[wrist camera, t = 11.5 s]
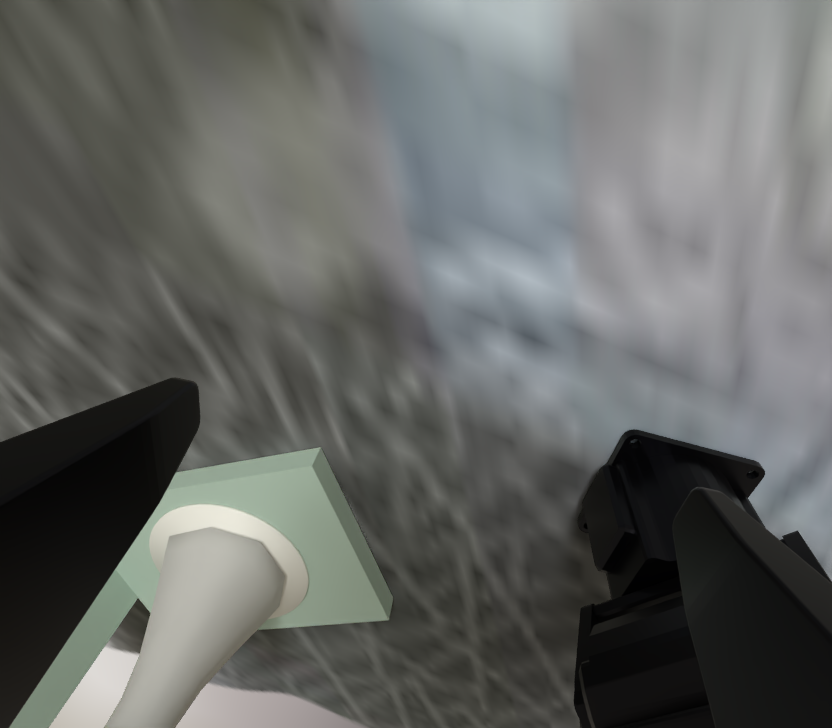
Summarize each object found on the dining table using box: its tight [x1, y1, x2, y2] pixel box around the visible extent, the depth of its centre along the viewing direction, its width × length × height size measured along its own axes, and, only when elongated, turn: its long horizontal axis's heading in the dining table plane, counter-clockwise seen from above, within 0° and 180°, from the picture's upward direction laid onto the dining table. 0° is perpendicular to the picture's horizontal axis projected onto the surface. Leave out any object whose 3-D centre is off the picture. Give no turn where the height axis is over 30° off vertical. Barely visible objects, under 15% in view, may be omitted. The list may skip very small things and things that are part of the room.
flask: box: [104, 527, 285, 728], centre depth 26 cm, size 7×7×10 cm
